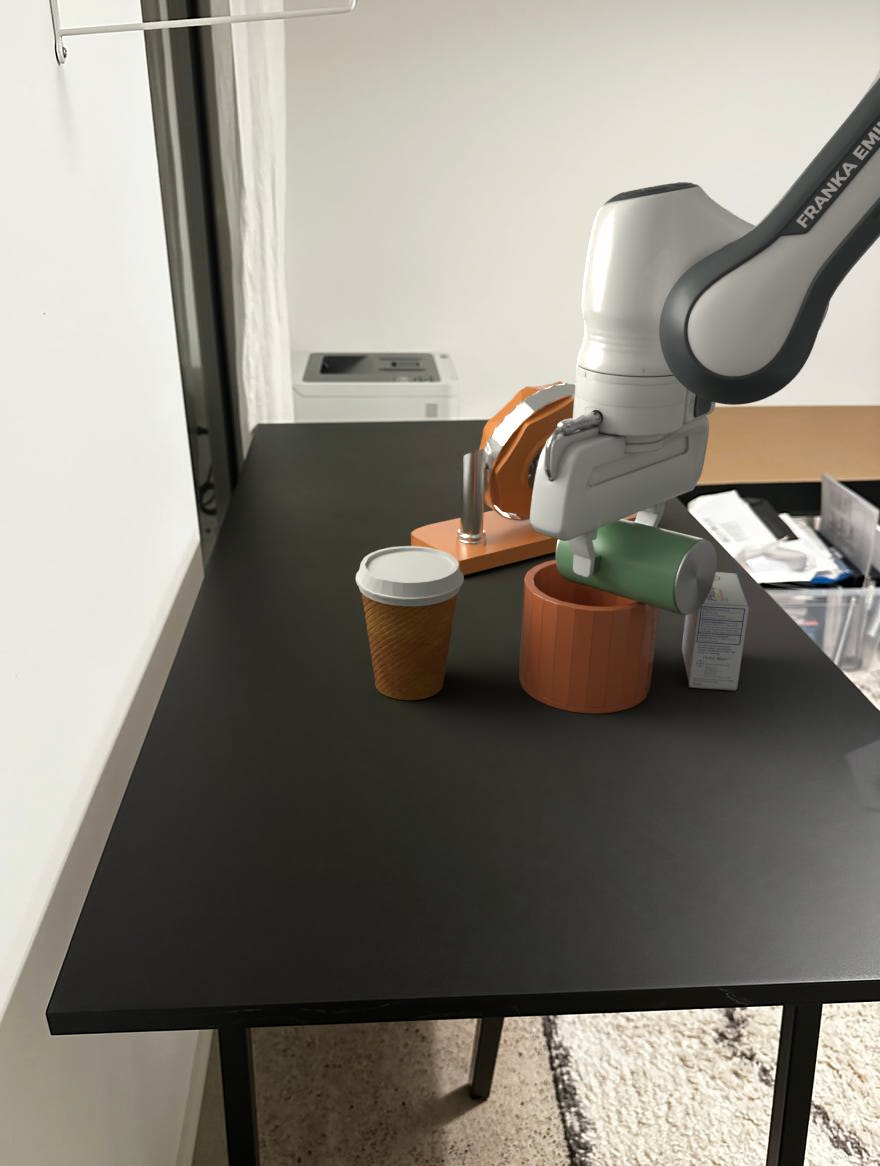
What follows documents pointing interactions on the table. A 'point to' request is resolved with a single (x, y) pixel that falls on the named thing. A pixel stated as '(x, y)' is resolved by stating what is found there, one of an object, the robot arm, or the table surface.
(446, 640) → the disposable coffee cup
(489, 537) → the desk clock
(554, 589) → the holder
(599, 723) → the table surface
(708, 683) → the medicine box
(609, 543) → the can
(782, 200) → the robot arm
